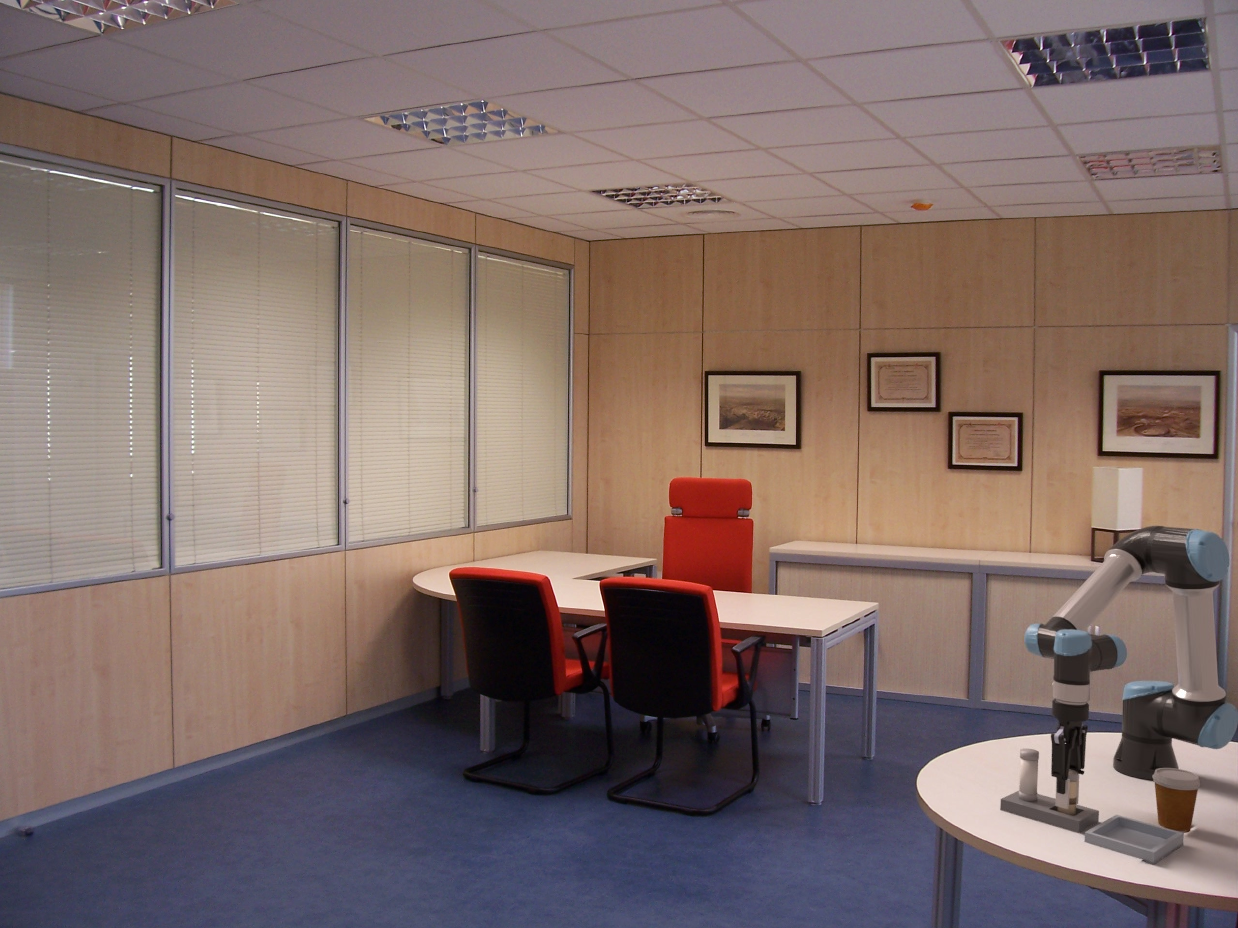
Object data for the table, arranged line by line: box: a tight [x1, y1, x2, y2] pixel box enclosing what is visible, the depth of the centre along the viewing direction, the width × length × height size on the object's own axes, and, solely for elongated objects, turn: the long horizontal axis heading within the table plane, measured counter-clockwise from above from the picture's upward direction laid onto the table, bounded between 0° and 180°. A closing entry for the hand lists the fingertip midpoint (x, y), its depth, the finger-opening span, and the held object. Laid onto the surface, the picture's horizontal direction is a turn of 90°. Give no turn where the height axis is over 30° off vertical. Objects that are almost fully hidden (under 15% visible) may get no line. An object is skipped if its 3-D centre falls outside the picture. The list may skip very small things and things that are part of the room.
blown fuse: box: [1057, 769, 1078, 816], centre depth 240 cm, size 4×4×11 cm
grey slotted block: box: [999, 748, 1100, 834], centre depth 243 cm, size 10×18×14 cm, turn 43°
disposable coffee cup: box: [1152, 768, 1201, 833], centre depth 238 cm, size 10×10×12 cm
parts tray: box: [1084, 814, 1184, 866], centre depth 228 cm, size 16×14×2 cm
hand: (1066, 804), depth 240 cm, fingers closed on blown fuse, 4 cm apart
